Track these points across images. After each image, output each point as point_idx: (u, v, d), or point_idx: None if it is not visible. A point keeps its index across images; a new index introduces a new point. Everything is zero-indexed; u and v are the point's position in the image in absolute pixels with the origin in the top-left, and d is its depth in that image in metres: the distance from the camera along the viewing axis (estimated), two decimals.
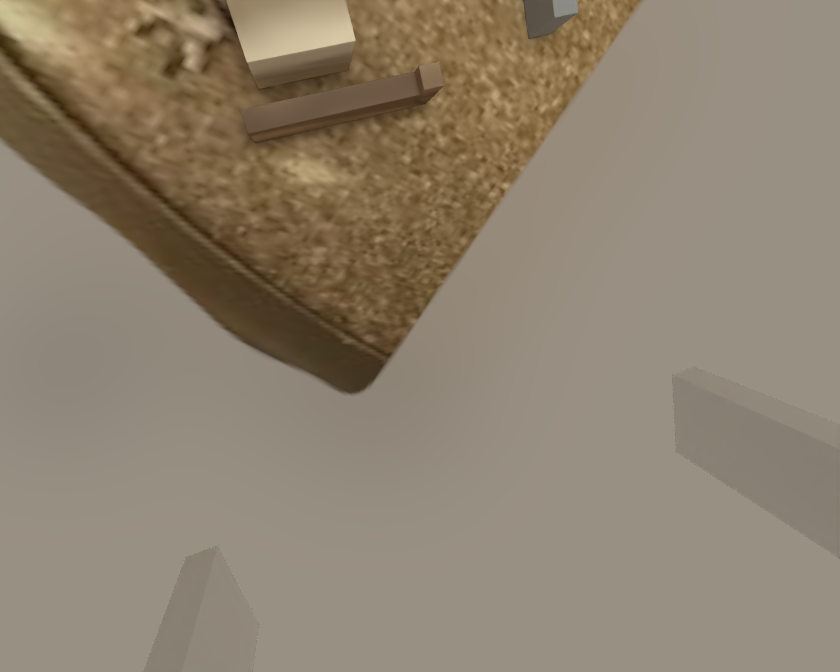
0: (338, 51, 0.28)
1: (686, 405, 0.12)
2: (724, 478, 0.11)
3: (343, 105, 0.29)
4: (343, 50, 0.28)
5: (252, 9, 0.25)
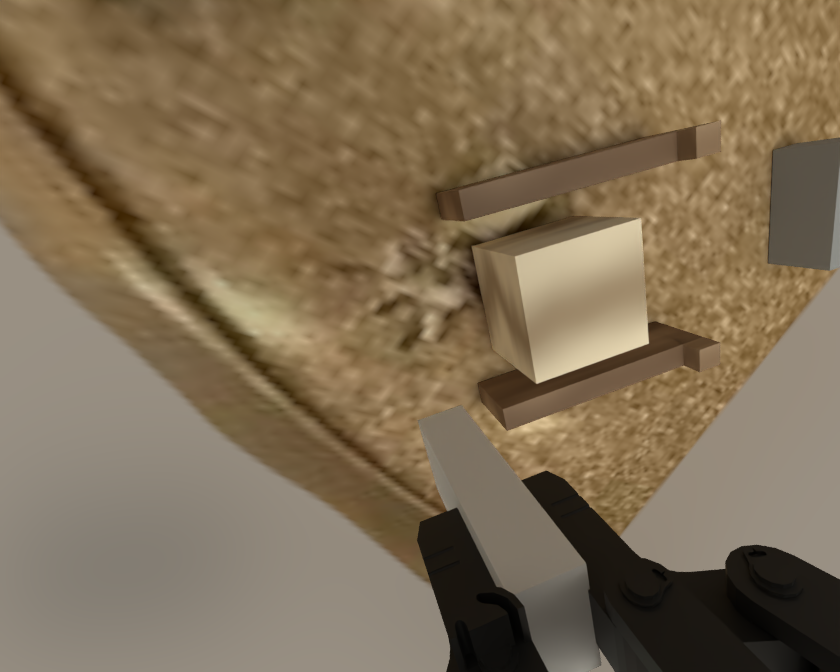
0: None
1: None
2: None
3: (606, 387, 0.26)
4: None
5: (551, 332, 0.22)
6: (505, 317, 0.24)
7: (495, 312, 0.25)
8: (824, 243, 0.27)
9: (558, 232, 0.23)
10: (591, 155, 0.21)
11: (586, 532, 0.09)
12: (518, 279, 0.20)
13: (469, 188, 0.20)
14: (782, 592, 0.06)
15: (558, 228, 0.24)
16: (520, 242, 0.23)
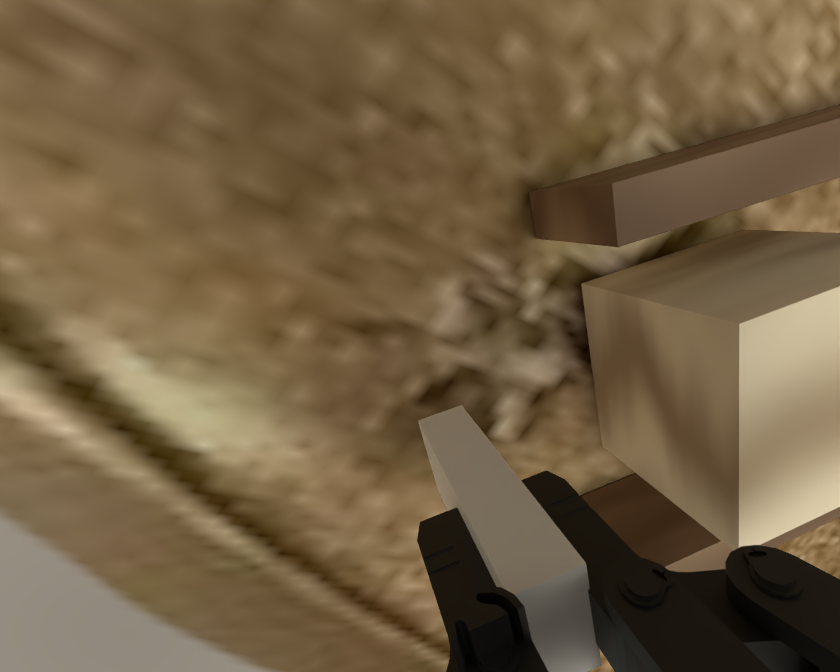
0: None
1: None
2: None
3: (811, 522, 0.15)
4: None
5: (780, 462, 0.11)
6: (660, 417, 0.13)
7: (627, 399, 0.14)
8: None
9: (768, 263, 0.12)
10: None
11: (586, 532, 0.09)
12: (736, 369, 0.10)
13: (633, 179, 0.10)
14: (782, 592, 0.06)
15: (750, 254, 0.13)
16: (697, 282, 0.12)
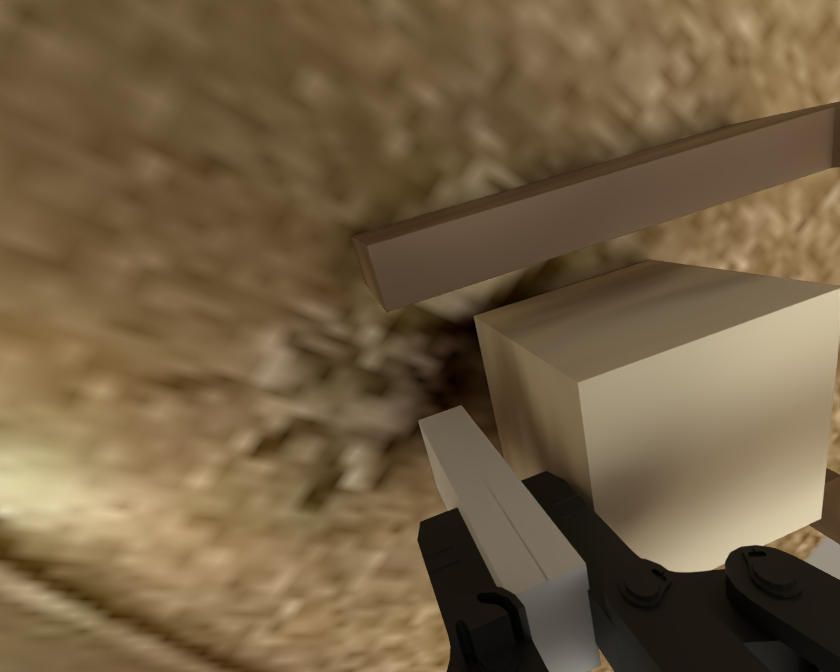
0: None
1: None
2: None
3: None
4: None
5: (645, 523, 0.10)
6: (540, 463, 0.12)
7: (518, 440, 0.14)
8: None
9: (649, 305, 0.11)
10: (663, 160, 0.10)
11: (586, 532, 0.09)
12: (581, 428, 0.09)
13: (393, 241, 0.09)
14: (782, 592, 0.06)
15: (641, 291, 0.13)
16: (573, 324, 0.11)
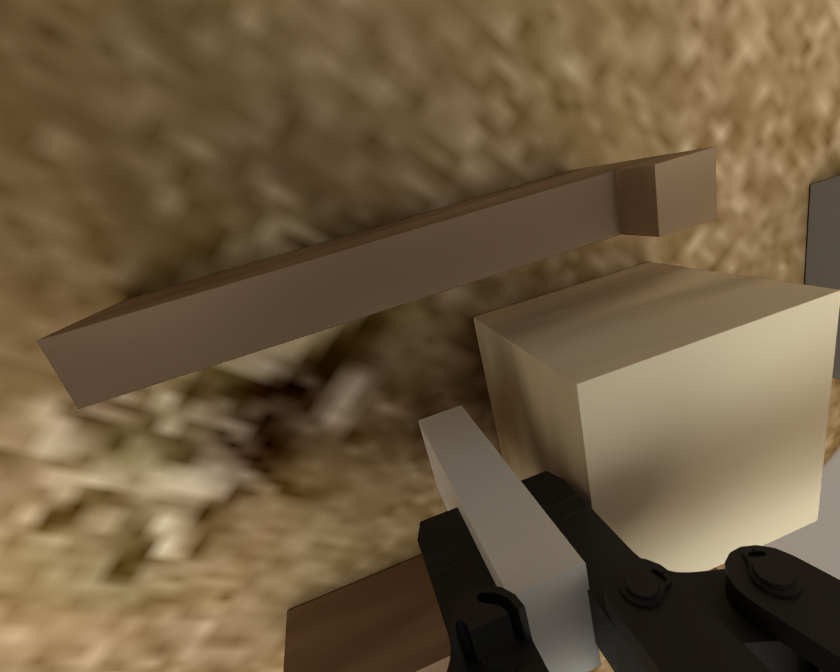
0: None
1: None
2: None
3: None
4: None
5: (643, 524, 0.10)
6: (539, 464, 0.12)
7: (517, 441, 0.14)
8: None
9: (647, 307, 0.12)
10: (406, 234, 0.09)
11: (586, 532, 0.09)
12: (580, 429, 0.09)
13: (70, 334, 0.08)
14: (782, 592, 0.06)
15: (639, 293, 0.13)
16: (572, 326, 0.12)
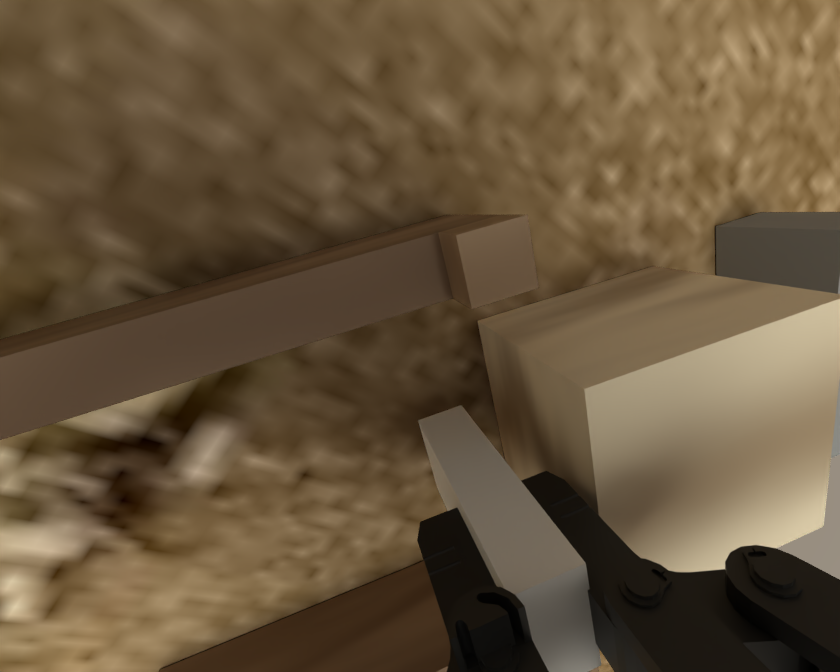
0: None
1: None
2: None
3: None
4: None
5: (649, 529, 0.10)
6: (544, 469, 0.12)
7: (521, 445, 0.14)
8: None
9: (653, 311, 0.11)
10: (194, 305, 0.08)
11: (586, 532, 0.09)
12: (587, 434, 0.09)
13: None
14: (782, 592, 0.06)
15: (644, 297, 0.13)
16: (578, 330, 0.11)
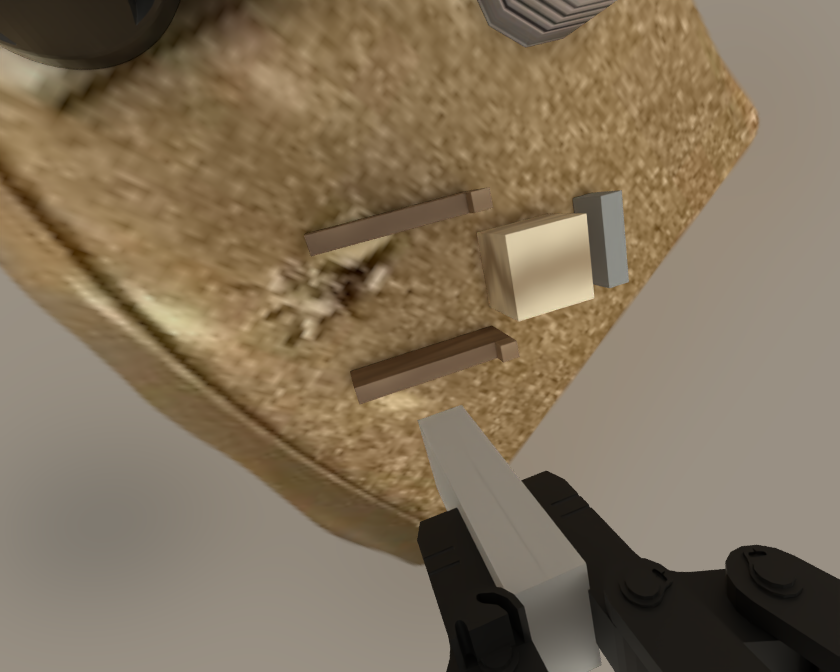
0: None
1: None
2: None
3: (436, 373, 0.35)
4: None
5: (528, 286, 0.33)
6: (498, 279, 0.35)
7: (492, 277, 0.37)
8: (604, 268, 0.37)
9: (534, 222, 0.35)
10: (401, 210, 0.31)
11: (586, 532, 0.09)
12: (507, 250, 0.32)
13: (312, 234, 0.30)
14: (782, 592, 0.06)
15: (535, 220, 0.36)
16: (509, 228, 0.34)
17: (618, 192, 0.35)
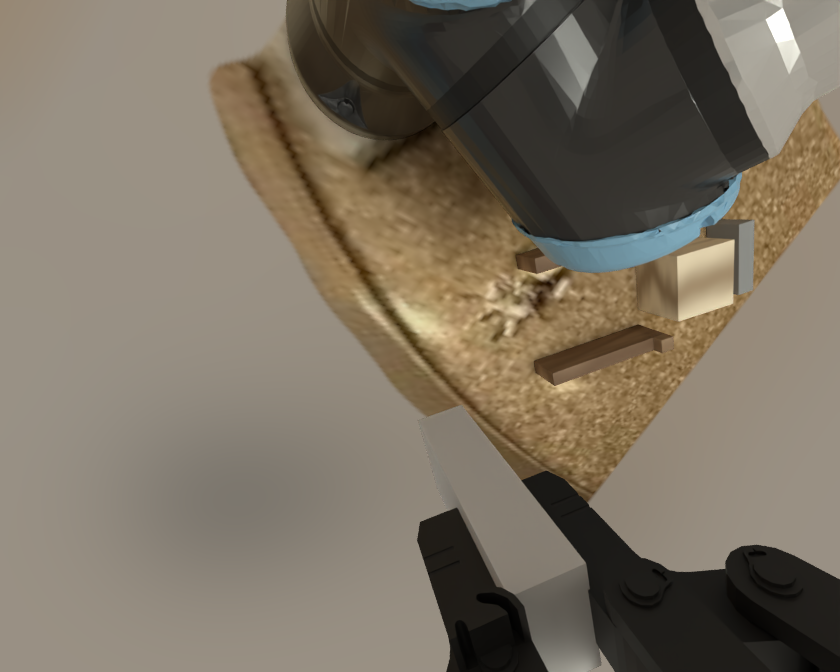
0: None
1: None
2: None
3: (609, 362, 0.46)
4: None
5: (688, 294, 0.44)
6: (658, 288, 0.46)
7: (648, 287, 0.47)
8: (734, 279, 0.47)
9: (688, 245, 0.45)
10: None
11: (586, 532, 0.09)
12: (676, 267, 0.42)
13: (540, 257, 0.40)
14: (783, 591, 0.06)
15: None
16: None
17: (751, 221, 0.45)
